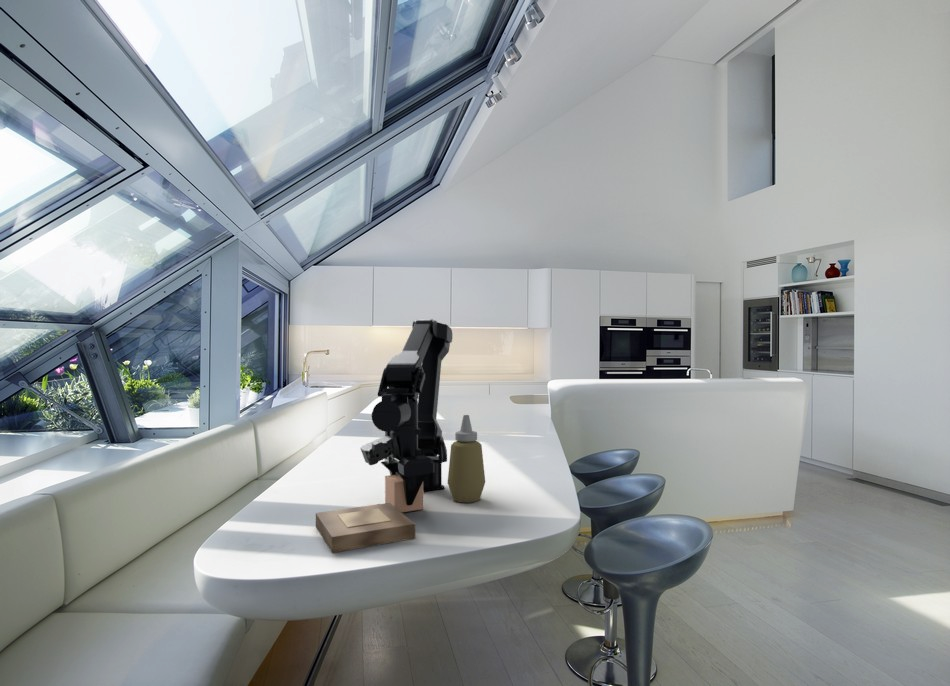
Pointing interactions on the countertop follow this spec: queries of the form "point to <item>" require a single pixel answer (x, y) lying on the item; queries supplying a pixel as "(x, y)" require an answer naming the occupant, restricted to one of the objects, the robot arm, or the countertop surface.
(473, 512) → the countertop surface
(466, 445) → the squeeze bottle
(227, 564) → the countertop surface
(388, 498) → the cube
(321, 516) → the base board
